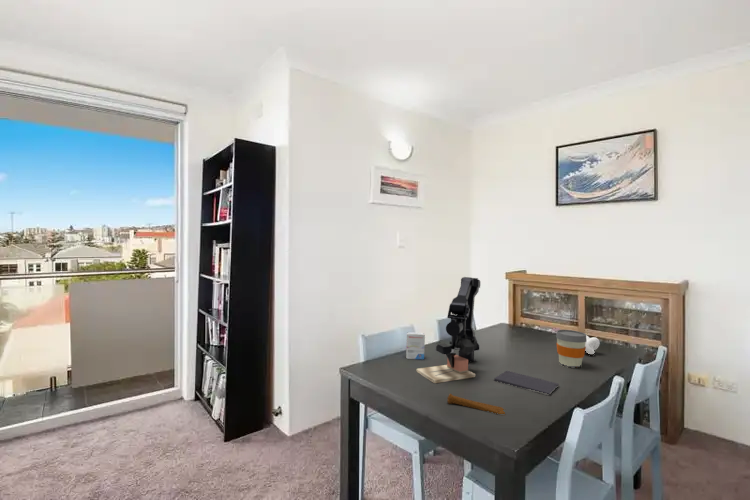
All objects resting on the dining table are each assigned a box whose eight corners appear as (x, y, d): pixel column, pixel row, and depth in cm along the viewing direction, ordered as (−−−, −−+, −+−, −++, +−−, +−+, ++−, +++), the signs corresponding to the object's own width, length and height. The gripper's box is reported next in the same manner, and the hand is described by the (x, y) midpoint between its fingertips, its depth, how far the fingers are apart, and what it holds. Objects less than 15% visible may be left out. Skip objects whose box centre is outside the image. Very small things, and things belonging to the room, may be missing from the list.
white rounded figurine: (590, 350, 198) (591, 333, 198) (605, 357, 186) (606, 339, 186) (570, 349, 198) (570, 333, 198) (583, 357, 186) (584, 339, 186)
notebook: (494, 382, 151) (549, 397, 137) (494, 378, 151) (549, 393, 137) (506, 374, 161) (559, 387, 147) (506, 370, 161) (559, 383, 147)
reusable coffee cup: (567, 370, 166) (569, 336, 165) (549, 361, 178) (550, 330, 178) (592, 369, 168) (593, 336, 168) (572, 360, 181) (573, 329, 180)
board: (455, 366, 168) (455, 363, 168) (475, 376, 155) (475, 374, 155) (416, 371, 160) (416, 368, 160) (434, 383, 147) (434, 380, 147)
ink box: (423, 356, 181) (424, 332, 181) (424, 359, 176) (424, 334, 176) (406, 355, 182) (406, 331, 182) (406, 358, 177) (406, 334, 177)
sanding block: (455, 365, 165) (455, 354, 164) (467, 371, 158) (468, 359, 157) (447, 367, 162) (447, 355, 162) (459, 373, 155) (460, 361, 155)
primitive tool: (505, 410, 126) (505, 399, 126) (505, 417, 121) (506, 406, 121) (448, 401, 132) (448, 391, 132) (445, 407, 127) (446, 397, 127)
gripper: (451, 337, 148) (450, 376, 149) (488, 333, 156) (487, 370, 156) (435, 330, 159) (434, 367, 159) (471, 327, 166) (470, 362, 166)
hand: (457, 367), depth 160 cm, fingers closed on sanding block, 5 cm apart
